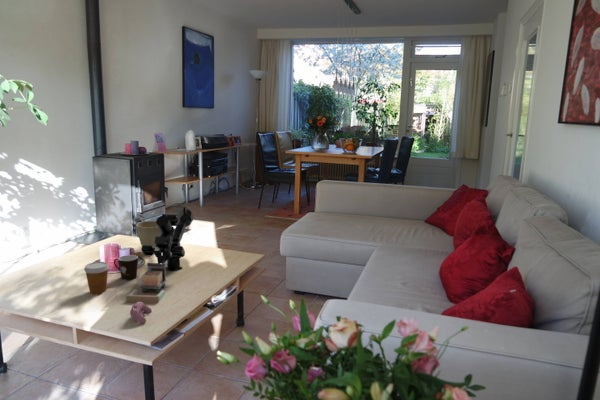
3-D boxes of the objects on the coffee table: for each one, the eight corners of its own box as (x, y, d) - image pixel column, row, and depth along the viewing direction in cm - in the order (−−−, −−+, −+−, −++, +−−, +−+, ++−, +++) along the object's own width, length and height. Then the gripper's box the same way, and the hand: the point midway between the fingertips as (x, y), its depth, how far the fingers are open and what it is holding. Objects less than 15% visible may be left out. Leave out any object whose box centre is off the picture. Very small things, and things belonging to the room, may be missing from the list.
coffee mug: (142, 278, 203) (141, 258, 201) (124, 283, 197) (123, 262, 195) (130, 272, 211) (129, 252, 209) (112, 276, 205) (111, 256, 203)
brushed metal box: (148, 285, 194) (147, 262, 192) (166, 285, 194) (165, 263, 192) (140, 293, 185) (139, 269, 183) (159, 293, 185) (158, 270, 183)
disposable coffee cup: (98, 297, 181) (96, 270, 179) (80, 294, 184) (78, 266, 182) (115, 289, 190) (113, 263, 187) (98, 286, 193) (96, 260, 191)
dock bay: (135, 294, 185) (134, 287, 185) (165, 295, 185) (164, 288, 185) (126, 303, 177) (126, 296, 176) (158, 304, 176) (158, 297, 176)
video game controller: (142, 316, 169) (133, 301, 167) (153, 311, 169) (144, 296, 167) (135, 328, 159) (125, 312, 158) (146, 323, 159) (137, 307, 158)
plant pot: (132, 254, 237) (130, 226, 235) (145, 247, 252) (144, 220, 249) (157, 256, 235) (156, 228, 232) (170, 249, 250) (169, 221, 247)
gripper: (141, 227, 199) (133, 258, 190) (182, 229, 198) (176, 260, 190) (148, 240, 208) (140, 270, 199) (187, 241, 208) (181, 271, 199)
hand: (159, 267), depth 196 cm, fingers closed
